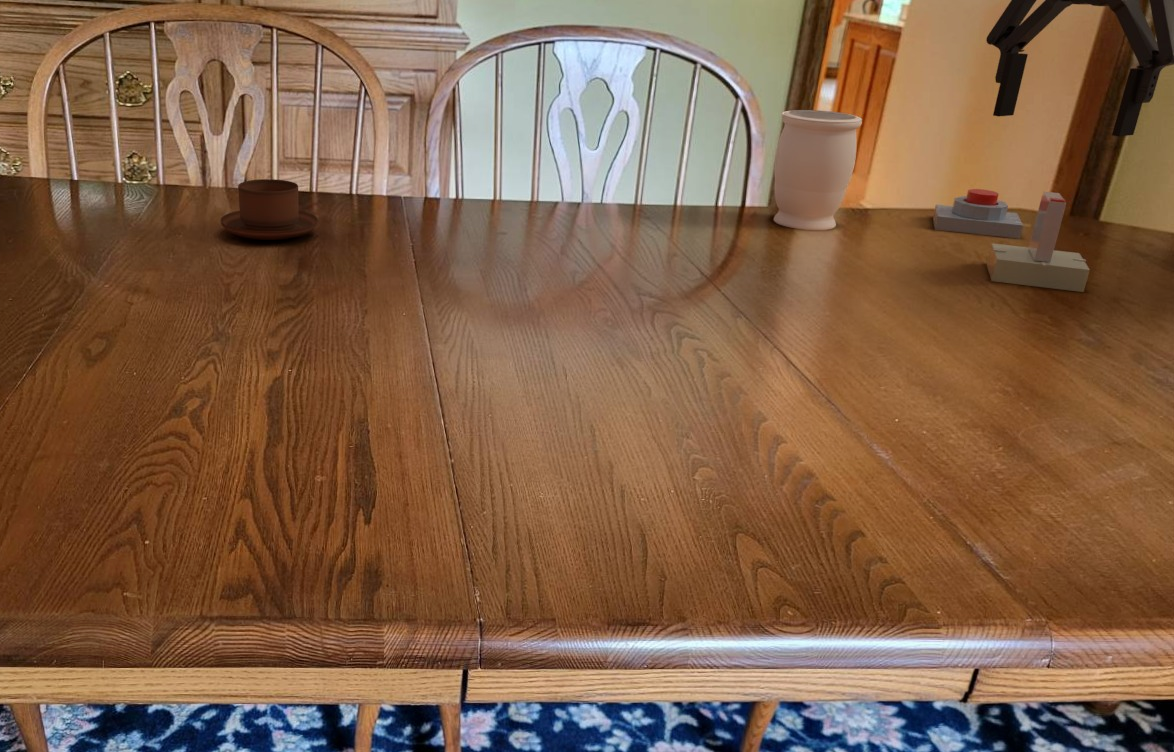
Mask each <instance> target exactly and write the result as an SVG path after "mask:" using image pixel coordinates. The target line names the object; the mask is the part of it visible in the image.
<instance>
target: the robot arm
mask: <svg viewBox="0 0 1174 752" xmlns="http://www.w3.org/2000/svg"><path fill="white" fill-rule="evenodd" d="M1036 2H1037V0H1010V2H1009V3H1008V5H1007V6H1006V8H1005V9H1004V10H1003V12H1002V13H1001V15H1000V16H999V18H998V20H997V21H996V22H995V24H994V26H993V27H992V29H991V30H990V32H989V33H988V34H987V37H986V43H987V45H989V46H991V45H992V46H994V47H995V48H997V49H998V50H999V52H1000V53H999V54H1000V55H999V59H998V65H997V68H996V72H995V76H994V78H995V83H996V84H999V86H998V91H997V95H996V100H995V105H994V108H993V109H994V110H993V113H992V116H993V117H1010V116H1014V114H1015V110H1016V107H1017V106H1016V105H1017V102H1018V98H1019V93H1020V89H1021V85H1022V81H1023V76H1024V72H1025V69H1026V68H1025V67H1026V64H1027V60H1028V53H1023V52H1024V51H1025V49H1024V48H1025V47H1026V46H1027V45H1029V43H1030V42H1032V41H1033V40H1034V39H1035V38H1036V37H1037V36H1038V35H1039V34H1040V33H1041V32H1042V31H1043V30H1044V29H1045V28H1047V26H1048V25H1049V24H1050V23H1051V22H1052V21H1054V20H1055V19H1056V18H1057V17H1058V16H1059V15H1060V14H1062V12H1063V11H1064V10H1065V9H1067V8H1069V7H1070V6H1072V5H1091V6H1094V7H1108V8H1109V9H1110V10H1111V11H1112V12H1113V13H1114V14H1115V16H1116V18H1117V20H1118V23H1119V25H1120V27H1121V29H1122V31H1123V34H1125V37H1126V39H1127V42H1128V43H1129V46H1130V47H1131V50H1132V52H1133V54H1134V56H1135V58H1136V61H1137V62H1138V65H1137V66H1136V67H1133V68H1129V72H1128V76H1127V78H1126V83H1125V86H1124V91H1123V93H1122V97H1121V100H1120V104H1119V108H1118V112H1117V115H1116V119H1115V122H1114V126H1113V129H1112V133H1111V136H1115V137H1127V136H1134V134H1135V130H1136V126H1137V123H1138V120H1139V116H1140V114H1141V110H1142V107H1143V104H1148V103H1150V102H1151V101H1152V99H1153V98H1154V94H1155V90H1156V87H1157V84H1158V80H1159V77H1160V74H1161V72H1162V70H1163V69H1164V68H1167V67H1169V66H1173V65H1174V0H1149V5H1150V10H1151V16H1152V23H1153V27H1154V33H1155V34H1154V33H1153V31H1152V29H1151V27H1150V24H1149V22H1148V20H1147V18H1146V16H1145V14H1144V12H1143V10H1142V8H1141V6H1140V4H1141V0H1044V1H1043V2H1042V3H1041V4H1039V6H1038V7H1037V8H1036V9H1035V10H1033V12H1032V13H1031V14H1030V15H1029V16H1027V15H1028V14H1029V12H1030V11H1031V9H1032V8H1033V7H1034V5H1035V3H1036ZM1026 16H1027V17H1026ZM1025 18H1026V19H1025Z"/></svg>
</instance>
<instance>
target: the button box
mask: <svg viewBox="0 0 1174 752" xmlns="http://www.w3.org/2000/svg"><path fill="white" fill-rule="evenodd" d="M966 197H967V195H966V196H965V195H964V196H963V195H961V196H957V197H954V199H953V203H952V205H943V204H935V206H934V210H933V215H932V221H933V227H934V230H936V231H945V232H953V233H962V234H970V235H971V234H973V235H980V236H982V235H983V236H988V237H989V236H990V237H1001V238H1008V239H1017V240H1020V239H1021V235H1022V232H1023V227H1024V224H1023V222H1022V220H1021V218H1020V216H1019V214H1018V213H1017V212H1011V211H1008V207H1009V205H1008V203H1007V202H1005V201H1003V200H999V199H997V203H996V205H988V206H986V205H977V204H972V203H968V202H966Z"/></svg>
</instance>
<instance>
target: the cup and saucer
mask: <svg viewBox="0 0 1174 752" xmlns="http://www.w3.org/2000/svg"><path fill="white" fill-rule="evenodd" d="M237 190H238V192H237V193H238V206H239V210H237V211H232V212H229V213H227V214H225V215H223V216H221V218H220V225H221V226H222V227H223V228H224V229H225V230H226V231H227V232H229V233H230V234H233V235H235V236H238V237H241V238H245V239H251V240H260V241H261V240H263V241H277V240H278V241H280V240H287V239H294V238H298V237H301V236H305V235H307V234H308V233H310V232H312V231H313V230H314V229H315V228H316V227H317V226H318V223H319V219H318V217H317V216H316V215H314V214H312V213H309V212H307V211H302V210H299V207H300V206H299V184H298V183H296V182H294V181H290V180H284V179H275V178H274V179H272V178H265V179H252V180H245V181H241V182H239V183H238V185H237Z"/></svg>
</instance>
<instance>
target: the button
mask: <svg viewBox="0 0 1174 752" xmlns="http://www.w3.org/2000/svg"><path fill="white" fill-rule="evenodd" d="M999 195H1000V194H999V192H997V191H994V190H989V189H981V188H971V189H968V190H967V193H966V196H967V197H966V202H968V203H972V204H977V205H986V206H988V205H996V203H997V200H999V199H998V198H999Z"/></svg>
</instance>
